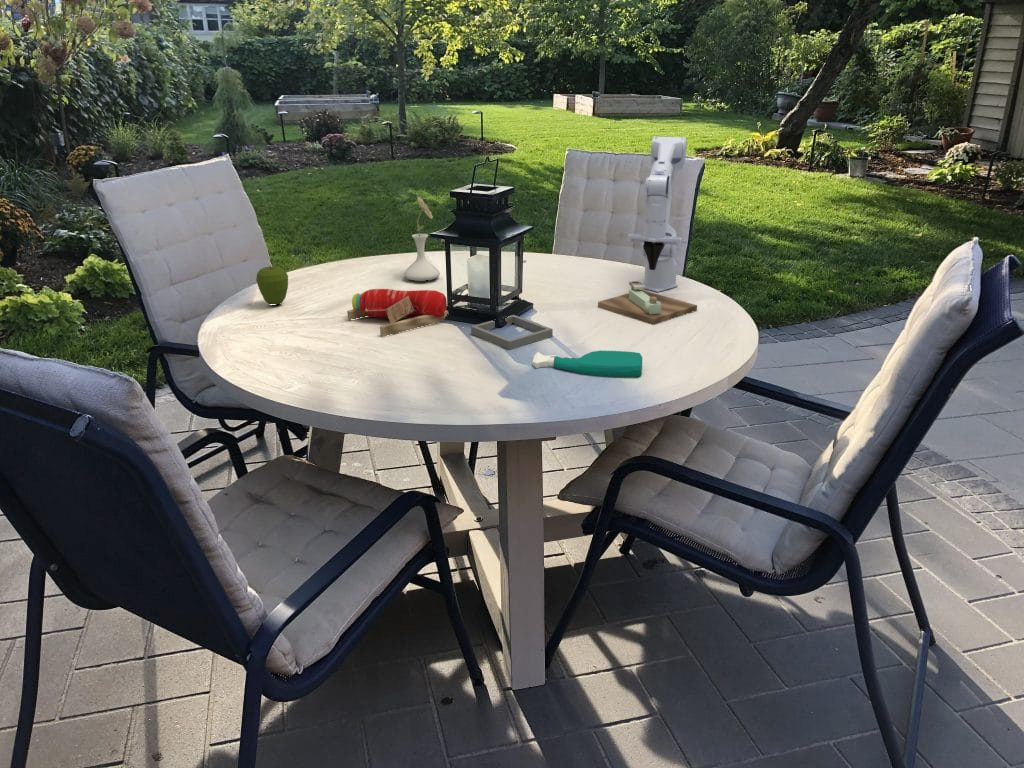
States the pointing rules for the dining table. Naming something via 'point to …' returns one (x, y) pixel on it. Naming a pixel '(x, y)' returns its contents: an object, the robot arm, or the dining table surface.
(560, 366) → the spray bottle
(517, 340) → the mousse rim
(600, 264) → the dining table surface
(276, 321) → the dining table surface
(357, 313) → the bottle cradle
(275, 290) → the apple
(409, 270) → the flower in vase
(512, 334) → the dining table surface
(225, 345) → the dining table surface
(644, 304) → the link
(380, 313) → the water bottle
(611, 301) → the board
